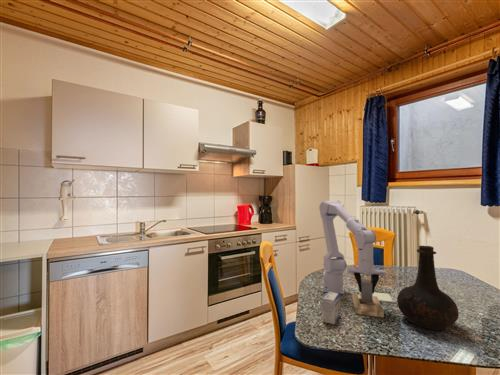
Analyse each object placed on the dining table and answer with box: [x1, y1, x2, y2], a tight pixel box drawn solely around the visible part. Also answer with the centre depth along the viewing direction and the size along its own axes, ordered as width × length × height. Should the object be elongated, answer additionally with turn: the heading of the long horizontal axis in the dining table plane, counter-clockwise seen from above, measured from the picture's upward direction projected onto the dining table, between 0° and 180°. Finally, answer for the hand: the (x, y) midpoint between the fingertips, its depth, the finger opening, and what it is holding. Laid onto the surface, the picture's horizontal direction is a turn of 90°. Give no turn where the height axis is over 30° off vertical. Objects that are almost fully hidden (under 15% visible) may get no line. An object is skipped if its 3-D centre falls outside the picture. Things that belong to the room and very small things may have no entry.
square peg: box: [360, 278, 373, 303], centre depth 103 cm, size 4×4×8 cm
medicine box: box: [321, 292, 340, 325], centre depth 93 cm, size 8×4×9 cm, turn 148°
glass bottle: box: [396, 245, 460, 331], centre depth 90 cm, size 18×18×28 cm
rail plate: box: [351, 293, 385, 318], centre depth 102 cm, size 10×14×2 cm
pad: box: [372, 291, 394, 304], centre depth 112 cm, size 9×9×1 cm
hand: (366, 292), depth 103 cm, fingers closed on square peg, 4 cm apart
